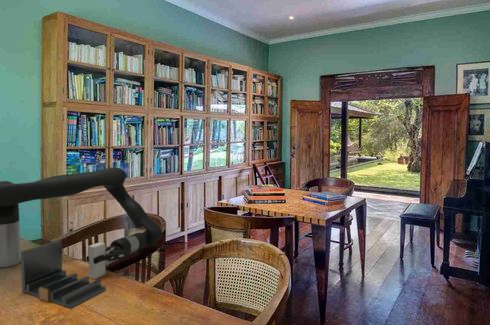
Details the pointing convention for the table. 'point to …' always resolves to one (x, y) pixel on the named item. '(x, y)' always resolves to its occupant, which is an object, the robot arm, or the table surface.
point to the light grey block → (98, 268)
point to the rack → (54, 277)
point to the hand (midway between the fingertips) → (90, 260)
